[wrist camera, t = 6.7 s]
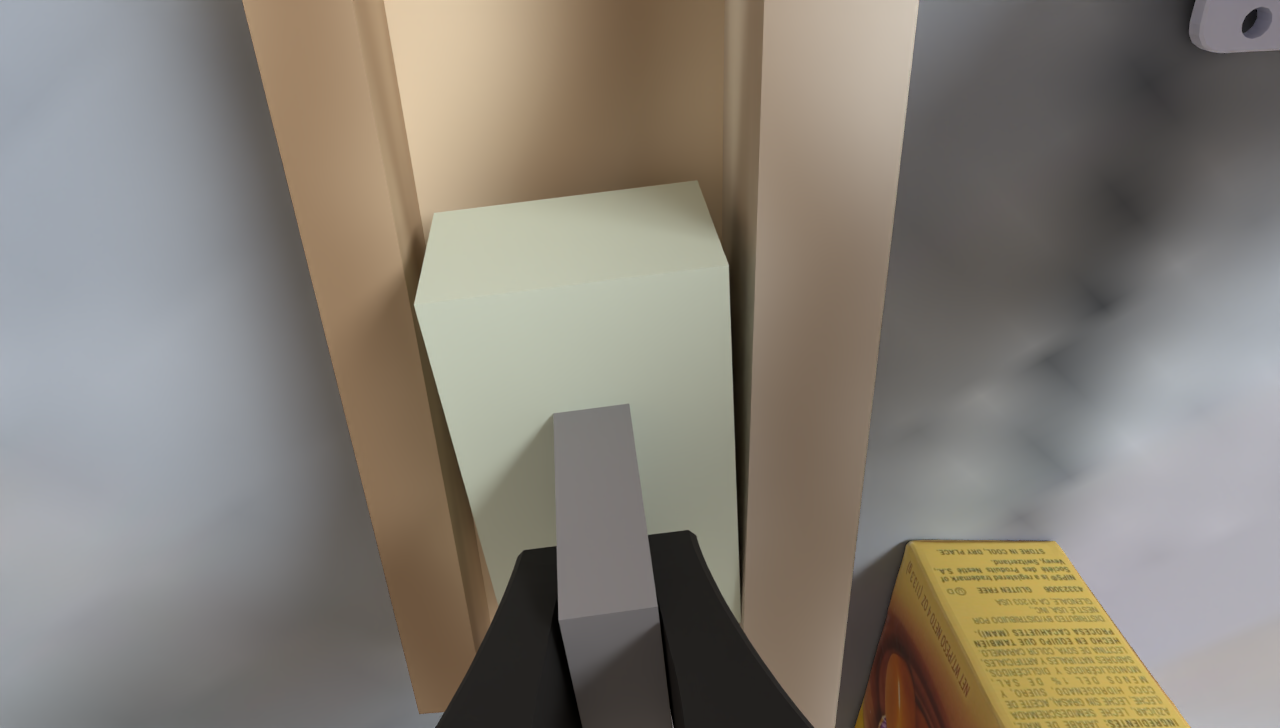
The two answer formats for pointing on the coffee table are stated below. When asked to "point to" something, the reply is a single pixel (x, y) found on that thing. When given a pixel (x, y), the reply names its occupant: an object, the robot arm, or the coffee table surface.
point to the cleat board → (590, 163)
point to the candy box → (1004, 646)
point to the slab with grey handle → (591, 410)
